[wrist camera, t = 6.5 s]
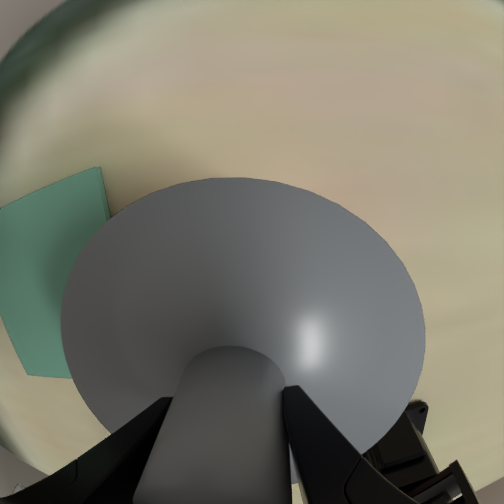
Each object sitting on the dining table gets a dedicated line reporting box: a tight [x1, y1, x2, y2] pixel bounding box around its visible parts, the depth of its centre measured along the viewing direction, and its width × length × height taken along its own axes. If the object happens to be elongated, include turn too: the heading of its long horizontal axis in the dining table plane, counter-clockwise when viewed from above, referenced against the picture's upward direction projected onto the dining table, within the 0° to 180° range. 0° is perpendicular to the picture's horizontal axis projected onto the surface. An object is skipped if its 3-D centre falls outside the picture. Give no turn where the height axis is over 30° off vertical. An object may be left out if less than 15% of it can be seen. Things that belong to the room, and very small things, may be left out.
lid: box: [60, 178, 425, 504], centre depth 6 cm, size 12×12×5 cm
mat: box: [0, 167, 111, 378], centre depth 15 cm, size 12×12×1 cm
